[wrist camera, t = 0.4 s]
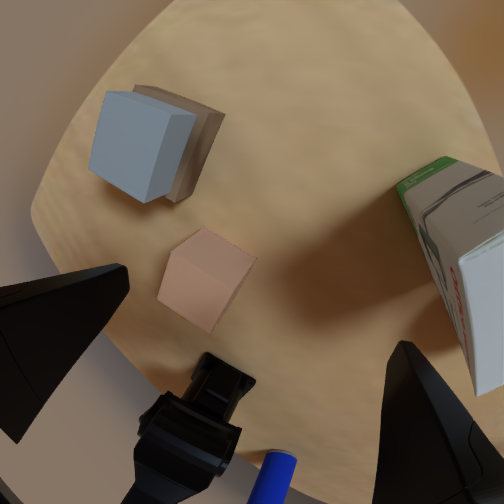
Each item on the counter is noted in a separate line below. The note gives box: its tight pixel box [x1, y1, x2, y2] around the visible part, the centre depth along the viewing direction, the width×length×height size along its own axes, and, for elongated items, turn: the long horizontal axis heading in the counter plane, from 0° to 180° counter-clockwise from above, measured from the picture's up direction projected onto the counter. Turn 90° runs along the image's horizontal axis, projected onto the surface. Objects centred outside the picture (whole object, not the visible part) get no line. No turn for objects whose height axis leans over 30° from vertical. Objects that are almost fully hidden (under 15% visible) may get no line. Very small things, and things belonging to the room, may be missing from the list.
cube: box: [157, 227, 257, 334], centre depth 22 cm, size 5×5×5 cm
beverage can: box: [247, 450, 297, 504], centre depth 29 cm, size 5×5×15 cm
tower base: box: [133, 85, 225, 203], centre depth 19 cm, size 7×7×3 cm
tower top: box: [88, 91, 197, 204], centre depth 17 cm, size 6×6×3 cm
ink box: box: [396, 156, 504, 397], centre depth 11 cm, size 9×5×12 cm, turn 35°
